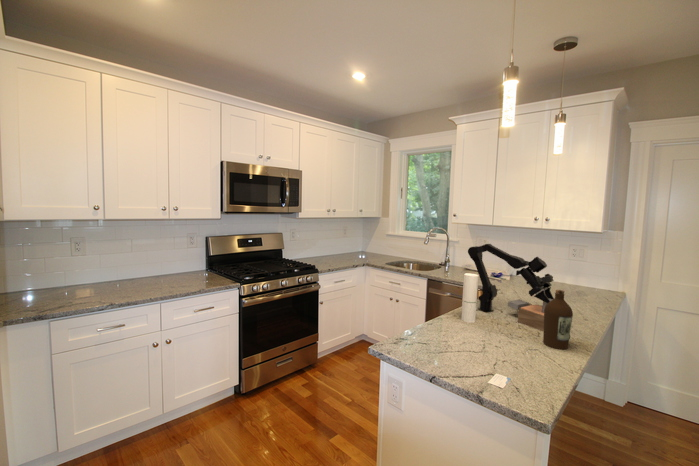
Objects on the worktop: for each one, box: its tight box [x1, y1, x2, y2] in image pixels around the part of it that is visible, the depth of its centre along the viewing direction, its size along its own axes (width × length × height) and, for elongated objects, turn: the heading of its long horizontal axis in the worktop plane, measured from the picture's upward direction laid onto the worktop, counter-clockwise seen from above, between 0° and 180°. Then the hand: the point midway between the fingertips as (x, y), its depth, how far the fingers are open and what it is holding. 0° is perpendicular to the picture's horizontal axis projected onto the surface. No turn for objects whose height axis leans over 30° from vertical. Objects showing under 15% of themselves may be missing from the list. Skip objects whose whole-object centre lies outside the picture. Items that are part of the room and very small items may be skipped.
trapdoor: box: [507, 298, 544, 315], centre depth 173 cm, size 14×23×3 cm, turn 29°
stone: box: [541, 298, 553, 313], centre depth 165 cm, size 5×5×7 cm
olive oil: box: [542, 289, 574, 351], centre depth 142 cm, size 11×11×25 cm
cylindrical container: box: [460, 272, 479, 324], centre depth 170 cm, size 7×7×25 cm
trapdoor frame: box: [517, 304, 544, 332], centre depth 169 cm, size 18×14×8 cm
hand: (552, 302), depth 164 cm, fingers open, 6 cm apart
